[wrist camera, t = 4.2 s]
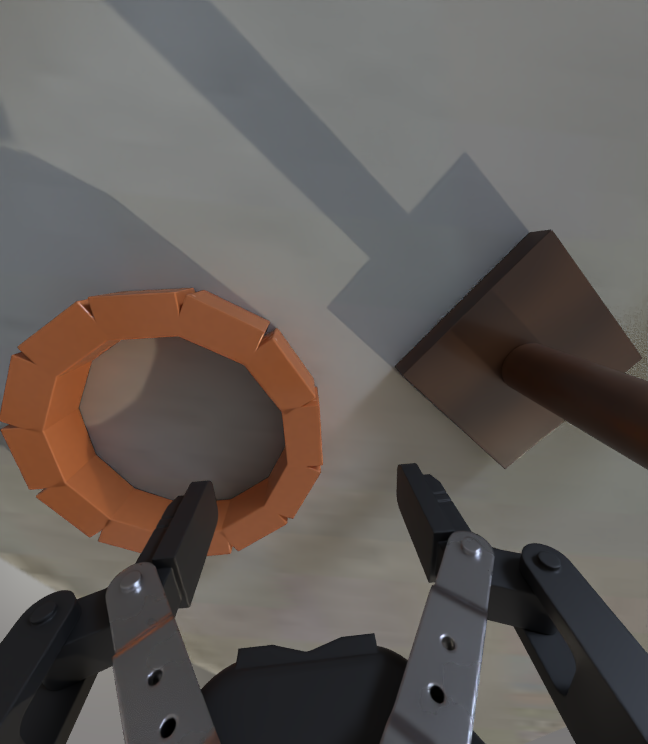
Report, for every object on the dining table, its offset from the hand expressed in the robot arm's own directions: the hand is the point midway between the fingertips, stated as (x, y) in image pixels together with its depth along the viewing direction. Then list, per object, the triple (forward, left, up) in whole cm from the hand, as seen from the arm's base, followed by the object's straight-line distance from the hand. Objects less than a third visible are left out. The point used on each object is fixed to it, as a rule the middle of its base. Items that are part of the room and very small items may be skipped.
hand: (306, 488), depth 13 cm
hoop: (-5, -5, -6) cm, 9 cm away
